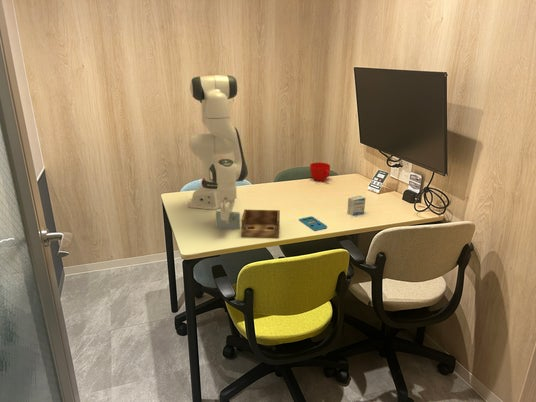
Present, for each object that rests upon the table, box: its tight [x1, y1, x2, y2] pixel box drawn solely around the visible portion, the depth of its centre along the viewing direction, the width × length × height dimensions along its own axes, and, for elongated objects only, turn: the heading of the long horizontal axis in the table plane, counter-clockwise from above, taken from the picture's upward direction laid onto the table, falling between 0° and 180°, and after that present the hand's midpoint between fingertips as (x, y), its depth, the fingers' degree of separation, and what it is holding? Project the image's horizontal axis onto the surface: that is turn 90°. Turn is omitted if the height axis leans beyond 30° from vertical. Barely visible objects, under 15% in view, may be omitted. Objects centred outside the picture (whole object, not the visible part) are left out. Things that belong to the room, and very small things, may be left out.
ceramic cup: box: [309, 162, 331, 182], centre depth 255 cm, size 13×17×10 cm
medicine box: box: [346, 195, 366, 217], centre depth 205 cm, size 8×4×9 cm, turn 117°
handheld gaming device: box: [298, 216, 328, 232], centre depth 193 cm, size 8×1×15 cm
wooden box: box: [240, 208, 281, 239], centre depth 184 cm, size 17×14×8 cm
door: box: [215, 210, 241, 230], centre depth 187 cm, size 11×3×8 cm, turn 87°
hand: (228, 221), depth 187 cm, fingers closed on door, 2 cm apart
